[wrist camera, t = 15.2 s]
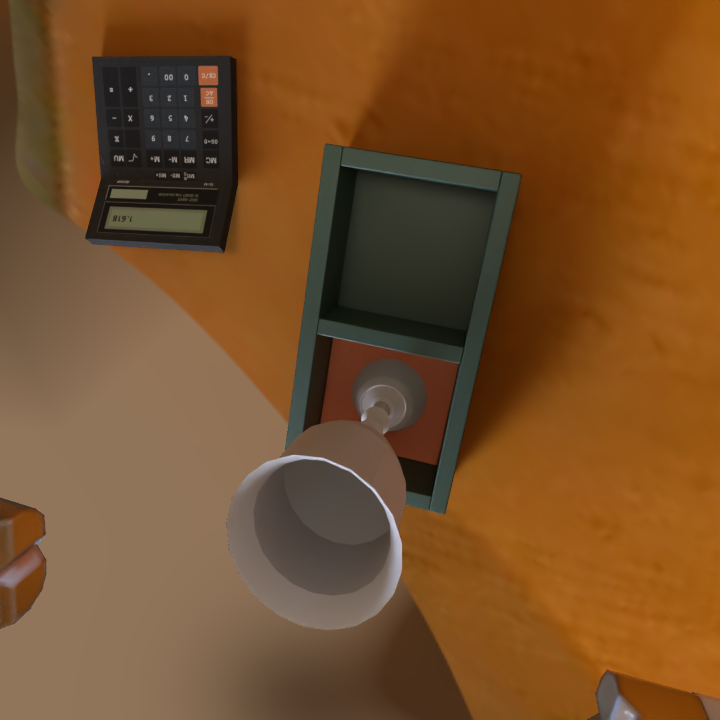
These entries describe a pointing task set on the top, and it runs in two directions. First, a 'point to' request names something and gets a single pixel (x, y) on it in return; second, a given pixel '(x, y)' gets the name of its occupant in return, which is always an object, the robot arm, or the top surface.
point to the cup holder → (402, 296)
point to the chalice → (331, 510)
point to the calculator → (165, 152)
